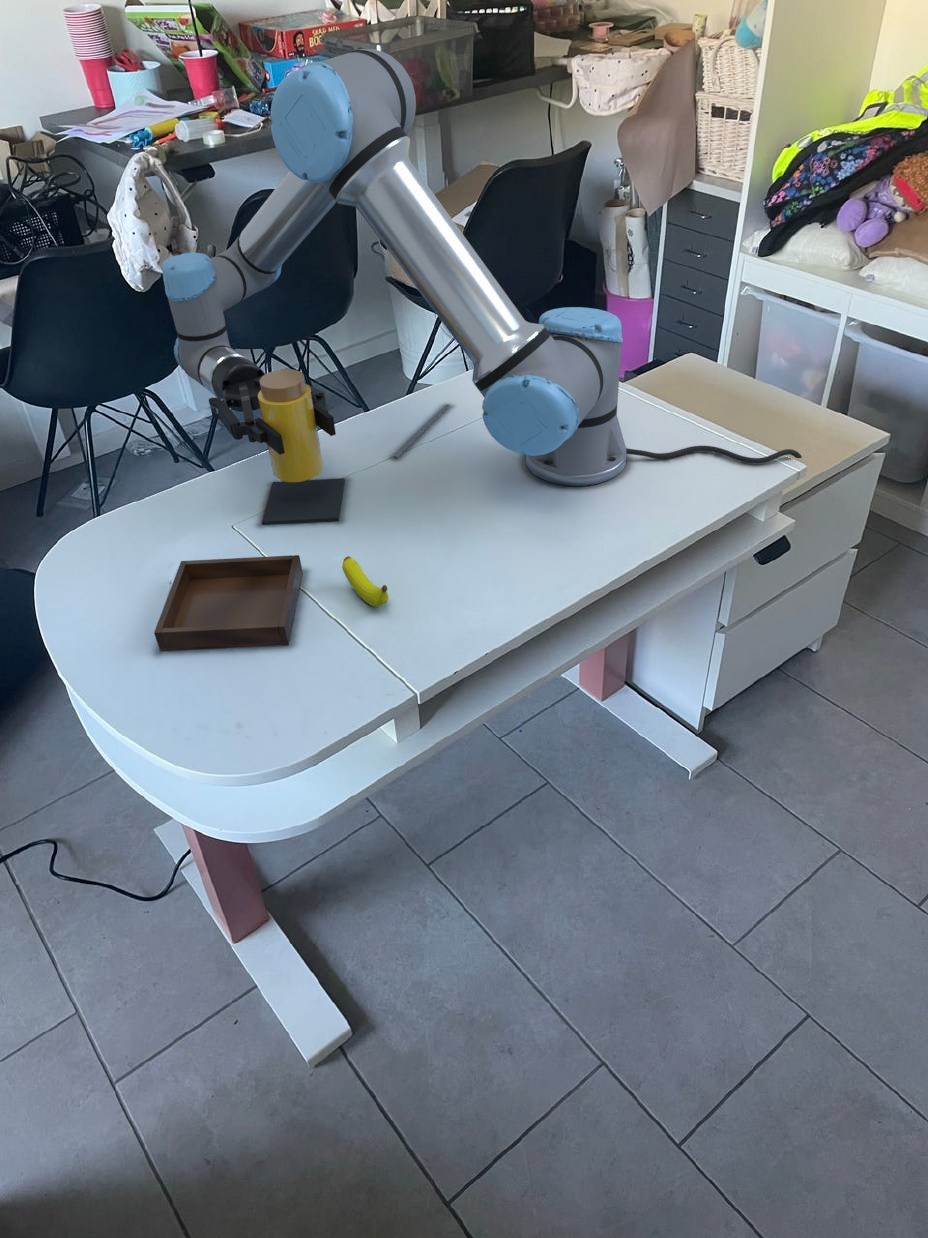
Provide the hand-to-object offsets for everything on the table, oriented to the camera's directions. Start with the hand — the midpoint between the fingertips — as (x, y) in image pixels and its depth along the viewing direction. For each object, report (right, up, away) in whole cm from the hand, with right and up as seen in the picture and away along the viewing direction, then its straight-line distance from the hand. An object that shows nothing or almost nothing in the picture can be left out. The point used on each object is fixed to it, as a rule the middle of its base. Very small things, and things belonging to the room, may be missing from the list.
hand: (306, 435), depth 123 cm
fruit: (+9, -22, -7) cm, 25 cm away
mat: (-2, -8, +11) cm, 14 cm away
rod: (+15, +6, +27) cm, 31 cm away
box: (-8, -24, -8) cm, 26 cm away
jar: (-3, -3, +8) cm, 9 cm away
